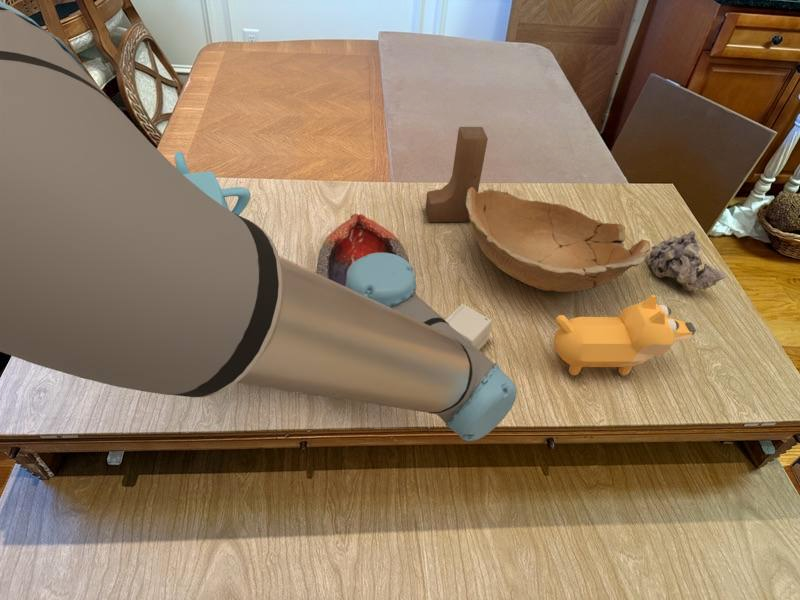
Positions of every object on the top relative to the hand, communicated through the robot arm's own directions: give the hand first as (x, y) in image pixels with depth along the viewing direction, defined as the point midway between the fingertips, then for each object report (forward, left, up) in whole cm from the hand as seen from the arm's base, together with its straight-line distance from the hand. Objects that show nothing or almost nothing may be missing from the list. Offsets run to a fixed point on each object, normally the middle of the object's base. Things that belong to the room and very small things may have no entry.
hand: (161, 288), depth 75 cm
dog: (+49, -44, -9) cm, 66 cm away
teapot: (+12, +19, -9) cm, 24 cm away
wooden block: (+55, -1, -9) cm, 56 cm away
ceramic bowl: (+58, -22, -9) cm, 63 cm away
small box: (+34, -27, -9) cm, 45 cm away
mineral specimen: (+76, -38, -9) cm, 86 cm away
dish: (+29, -8, -9) cm, 32 cm away
